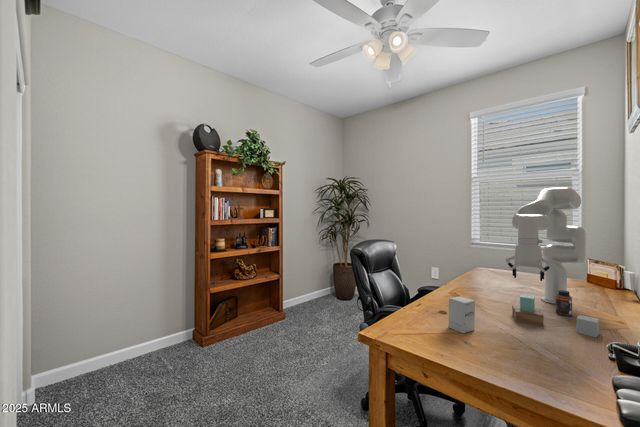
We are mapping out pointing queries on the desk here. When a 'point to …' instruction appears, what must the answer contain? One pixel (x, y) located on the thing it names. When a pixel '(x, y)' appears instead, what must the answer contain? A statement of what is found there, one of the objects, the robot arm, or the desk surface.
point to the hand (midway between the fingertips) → (527, 278)
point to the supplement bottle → (564, 303)
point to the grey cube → (587, 325)
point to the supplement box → (461, 314)
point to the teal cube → (527, 303)
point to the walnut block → (528, 316)
